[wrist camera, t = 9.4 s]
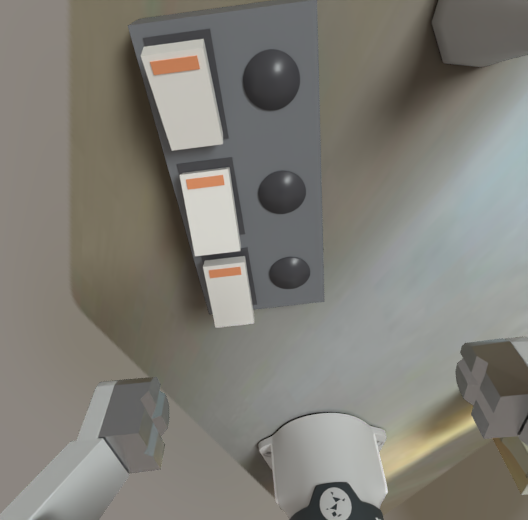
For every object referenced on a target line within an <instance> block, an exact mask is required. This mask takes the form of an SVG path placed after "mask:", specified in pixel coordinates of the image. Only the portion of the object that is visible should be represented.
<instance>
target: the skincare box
mask: <svg viewBox="0 0 528 520" xmlns="http://www.w3.org/2000/svg"><path fill="white" fill-rule="evenodd" d="M493 440H494V442H495V444H496V446H497V448H498V450H499V452H500V454H501V455H502V458H503V460H504V462H505V463H506V465H507V468H508V469H509V471H510V473H511V475H512V477H513V479H514V481H515V483H516V485H517V487H518V489H519V491H520V493H521V495H525V494H528V446H527V445H526V444H525V443H524V442H522V441H521V440H520V439H519V436H515V437H501V438H493Z"/></svg>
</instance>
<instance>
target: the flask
mask: <svg viewBox="0 0 528 520" xmlns="http://www.w3.org/2000/svg"><path fill="white" fill-rule="evenodd" d="M432 26H433V29H434V33H435V36H436V40H437V43H438V47H439V50H440V54H441V57H442V61H443V63H446V64H455V65H465V66H474V67H485V66H489V65H492V64H496V63H499V62H502V61H505V60H509V59H513V58H517V57H521V56H525V55H528V0H438V3H437V6H436V10H435V13H434V16H433V19H432Z"/></svg>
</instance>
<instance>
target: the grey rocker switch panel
mask: <svg viewBox="0 0 528 520" xmlns="http://www.w3.org/2000/svg"><path fill="white" fill-rule="evenodd" d="M128 28H129V32H130V35H131V39H132V42H133V46H134V50H135V53H136V57H137V60H138V64H139V67H140V71H141V74H142V78H143V81H144V85H145V89H146V92H147V96H148V99H149V103H150V106H151V110H152V113H153V117H154V120H155V124H156V128H157V131H158V135H159V138H160V142H161V145H162V149H163V152H164V156H165V159H166V163H167V167H168V170H169V174H170V177H171V181H172V184H173V188H174V191H175V195H176V198H177V202H178V206H179V209H180V213H181V216H182V220H183V223H184V227H185V230H186V234H187V237H188V241H189V245H190V248H191V252H192V255H193V259H194V262H195V266H196V269H197V273H198V276H199V280H200V283H201V287H202V291H203V294H204V298H205V301H206V305H207V308H208V312H209V314H213V313H212V308H211V303H210V298H209V294H208V289H207V284H206V279H205V275H204V270H203V265H204V261H205V260H214V259H223V258H231V257H240V256H245V260H246V266H247V272H248V279H249V285H250V292H251V298H252V305H253V310H254V309H263V308H272V307H281V306H290V305H298V304H307V303H316V302H324V267H323V226H322V186H321V145H320V105H319V64H318V24H317V0H272V1H265V2H258V3H251V4H244V5H236V6H229V7H222V8H215V9H207V10H200V11H193V12H186V13H179V14H171V15H164V16H157V17H150V18H142V19H138V20H136V21H134V22H133V23H131V24H130V25H128ZM198 39H204V43H205V47H206V52H207V57H208V62H209V67H210V72H211V77H212V82H213V87H214V92H215V97H216V102H217V107H218V111H219V116H220V121H221V126H222V131H223V144H221V145H213V146H205V147H197V148H189V149H181V150H173V151H172V150H171V147H170V144H169V141H168V138H167V135H166V132H165V129H164V125H163V122H162V119H161V116H160V113H159V110H158V107H157V104H156V101H155V98H154V95H153V92H152V89H151V86H150V83H149V80H148V77H147V74H146V71H145V68H144V64H143V61H142V58H141V54H142V50H143V47H146V46H154V45H161V44H168V43H176V42H183V41H190V40H198ZM226 167H229V168H230V174H231V181H232V188H233V195H234V201H235V208H236V215H237V222H238V229H239V235H240V242H241V250H240V251H237V252H228V253H220V254H211V255H203V256H195V254H194V249H193V243H192V238H191V233H190V228H189V222H188V217H187V212H186V207H185V201H184V196H183V191H182V186H181V180H180V174H182V173H186V172H194V171H202V170H210V169H218V168H226Z"/></svg>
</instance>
